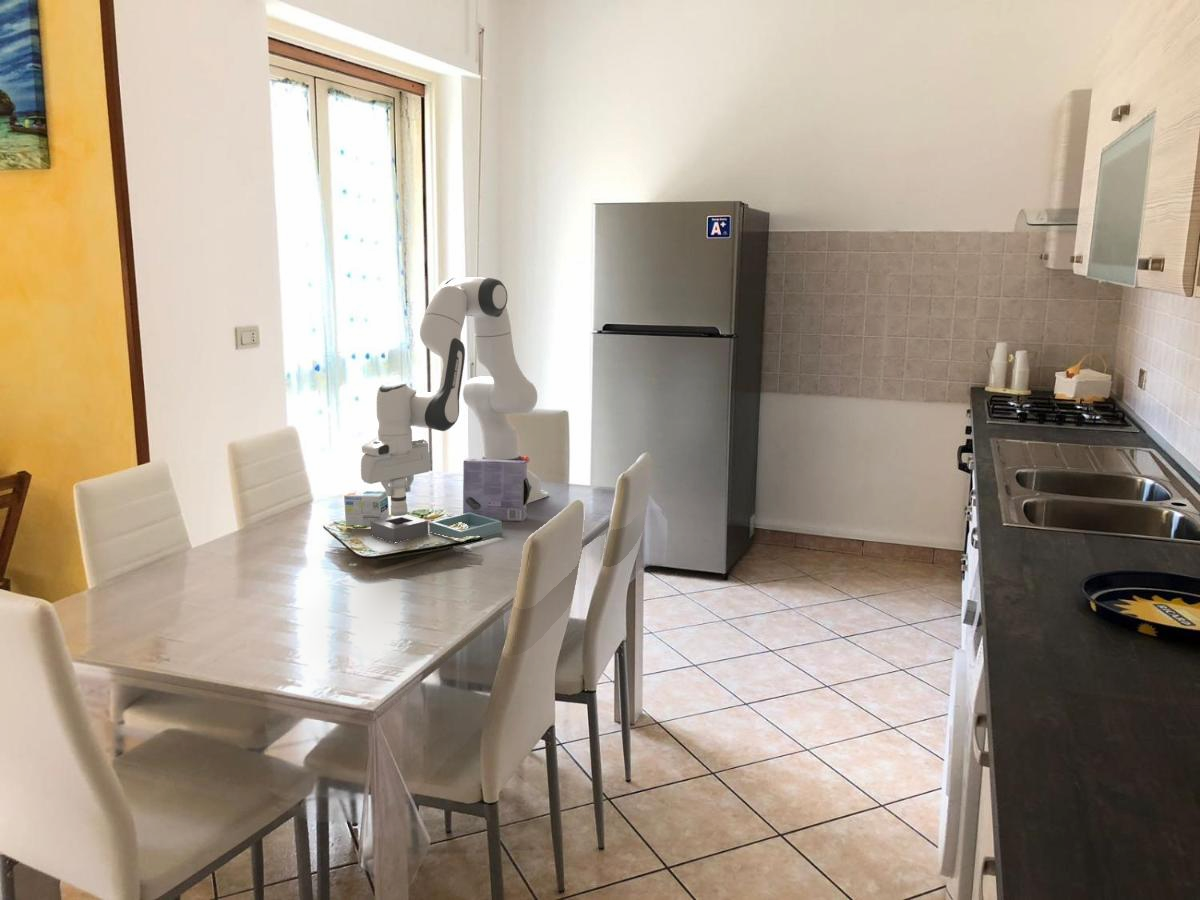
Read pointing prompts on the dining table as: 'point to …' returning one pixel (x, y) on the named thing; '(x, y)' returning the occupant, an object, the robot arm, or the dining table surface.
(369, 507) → the light bulb box
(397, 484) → the white light bulb
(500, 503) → the cake pan box
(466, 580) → the dining table surface
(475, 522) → the parts tray
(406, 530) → the bulb socket block
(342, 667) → the dining table surface
